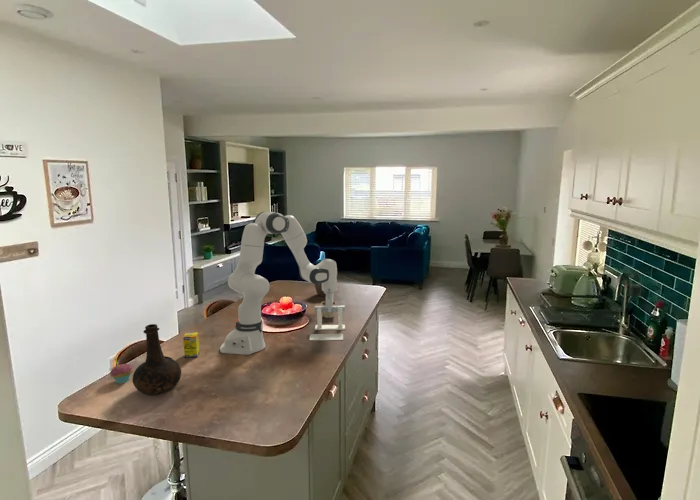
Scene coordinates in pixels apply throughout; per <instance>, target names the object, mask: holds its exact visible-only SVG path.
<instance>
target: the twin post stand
mask: <svg viewBox="0 0 700 500" xmlns="http://www.w3.org/2000/svg"><path fill="white" fill-rule="evenodd" d="M322 313H323V312H321V308H317V312H316V316H317V317H316V320H317V321H316V322H317V324H315V327H314V331H343V330H346V325H345V324H344V323H343V320H344V319H343V313H344V312H342V308H338V312H337V315H338V316H337V318H338V319H337V320H338V321H337V322H338V323H337V324H323V320H322V319H323V317H322V316H323V314H322Z"/></svg>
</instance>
